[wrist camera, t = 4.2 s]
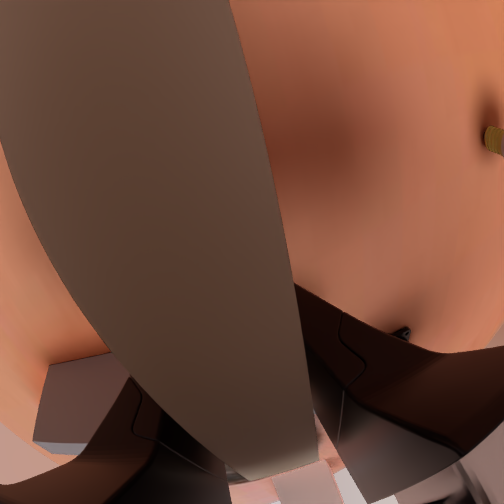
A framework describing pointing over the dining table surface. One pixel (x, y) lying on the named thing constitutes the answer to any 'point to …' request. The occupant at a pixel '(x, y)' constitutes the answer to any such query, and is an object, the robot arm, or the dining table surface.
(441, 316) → the dining table surface
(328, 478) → the milk
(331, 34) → the dining table surface
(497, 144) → the light bulb
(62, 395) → the grey notched bar
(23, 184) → the long wooden slat
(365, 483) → the robot arm
